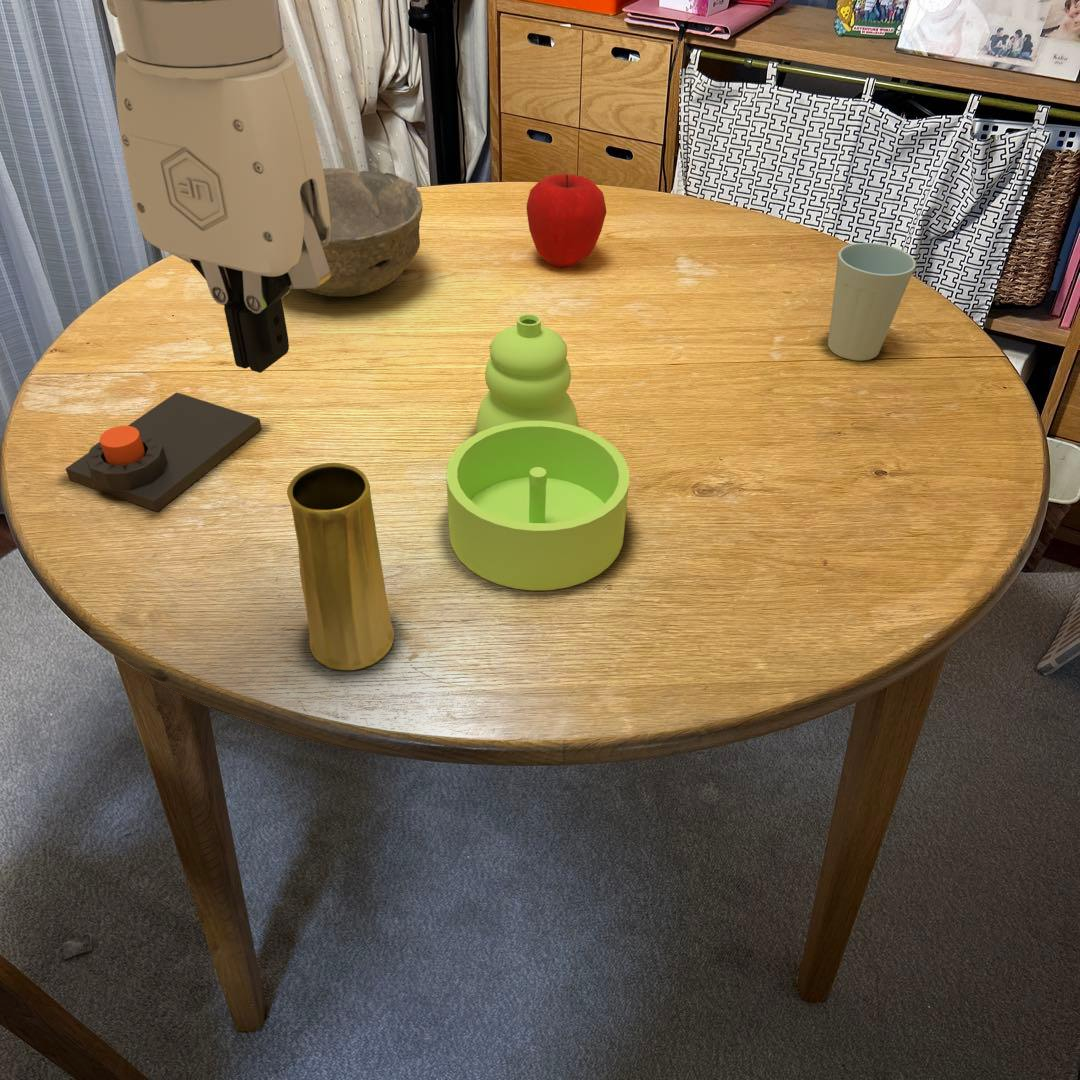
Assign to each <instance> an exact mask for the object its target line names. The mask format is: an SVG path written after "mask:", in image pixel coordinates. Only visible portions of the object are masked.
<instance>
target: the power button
mask: <svg viewBox="0 0 1080 1080" xmlns="http://www.w3.org/2000/svg"><path fill="white" fill-rule="evenodd" d="M99 442H100V444H101V447H102V450H103V453H104V456H105V458H106V461H107V462H108V463H109V464H111V465H126V464H130V463H133V462H136V461H138V460H140V459H141V458H142V457H144V455H145V450H144V446H143V443H142V440H141V436H140V433H139V431H138V430H137V429H136V428H134V427H131V426H128V425H117V426H114V427H112V428H109V429H106V430H105V431H104V432H102V433H101V435H100V437H99Z"/></svg>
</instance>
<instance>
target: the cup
mask: <svg viewBox="0 0 1080 1080" xmlns="http://www.w3.org/2000/svg"><path fill="white" fill-rule="evenodd" d="M916 265H917V263H916V260H915V259H914V257H913V256H912V255H911V254H909V253H908V252H906V251H905V250H902V249H900V248H898V247H895V246H891V245H888V244H882V243H876V242H855V243H851V244H848V245H845V246H843V247H842V248H841V249H840V250H839V251H838V254H837V263H836V271H835V281H834V290H833V297H832V306H831V314H830V323H829V331H828V338H827V339H828V340H827V346H828V349H829V350H830V351H831V352H832V353H833V354H835V355H836V356H839V357H840V358H843V359H846V360H850V361H860V362H861V361H869V360H873V359H874V358H876V357H877V356H879V354H880V351H881V350H882V347H883V345H884V342H885V339H886V337H887V335H888V333H889V330H890V328H891V326H892V324H893V321H894V319H895V316H896V314H897V311H898V309H899V307H900V304H901V301H902V299H903V296H904V294H905V292H906V290H907V287H908V285H909V283H910V280H911V279H912V276H913V275H914V271H915V269H916V267H917V266H916Z"/></svg>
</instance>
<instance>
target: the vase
mask: <svg viewBox="0 0 1080 1080" xmlns="http://www.w3.org/2000/svg"><path fill="white" fill-rule="evenodd" d="M286 495H287V498H288V500H289V503H290V508H291V514H292V517H293V518H292V519H293V526H294V530H295V536H296V540H297V547H298V549H297V550H298V564H299V575H300V581H301V582H300V583H301V588H302V593H303V599H304V606H305V611H306V617H307V626H308V632H309V640H308V641H309V642H308V643H309V649H310V652H311V655H312V656H313V657H314V658H315V659H316V661H317V662H319V663H320V664H322V666H325V667H326V668H329V669H333V670H338V671H355V670H356V671H357V670H361V669H364V668H367V667H370V666H372V665H374V664H376V663H377V662H379V661H380V660H381V659H383V658H384V657H385V656H386V655H387V654H388V652H389V651H390V650H391V648H392V646H393V643H394V639H395V630H394V627H393V625H392V621H391V614H390V608H389V602H388V597H387V590H386V585H385V578H384V571H383V565H382V559H381V553H380V546H379V541H378V534H377V528H376V521H375V515H374V514H375V513H374V509H373V502H372V494H371V484H370V482H369V480H368V477H367V476H366V474H365V473H364V472H363V471H362V470H361V469H360V468H358V467H356V466H353V465H350V464H346V463H340V462H325V463H320V464H315V465H313V466H310V467H308V468H306V469H304V470H302V471H300V472H299V473H297V474H296V475H295V476H294V477H293V478H292V480H291V481H290V483H289V484H288V486H287V489H286Z"/></svg>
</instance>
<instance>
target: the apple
mask: <svg viewBox="0 0 1080 1080" xmlns="http://www.w3.org/2000/svg"><path fill="white" fill-rule="evenodd" d="M606 215H607V206H606V200H605V196H604V192H603V191H602V190H601V189H600V188H599V186H597V185H596V183H595V182H594V181H593V180H591V179H590V178H588V177H586V176H583V175H577V174H569V173H557V174H552V175H549V176H546V177H544V178H542V179H541V180H539V181H538V182H537V183H535V185H534V186H533V187H532V188H531V189H530V190H529V194H528V198H527V201H526V216H527V224H528V231H529V233H530V236H531V238H532V241H533V244H534V247H535V250H536V252H537V254H539V256H540V257H541V258H542V259H544V260H545V261H546V263H548V264H549V265H551V266H553V267H555V268H568V267H572V266H575V265H577V264H579V263H580V262H582V261H583V260H585V259H586V258H588V257H589V256H590V255H591V254H592V253H593V251H594V249H595V247H596V245H597V242H598V240H599V238H600V236H601V234H602V230H603V227H604V223H605V219H606Z"/></svg>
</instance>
